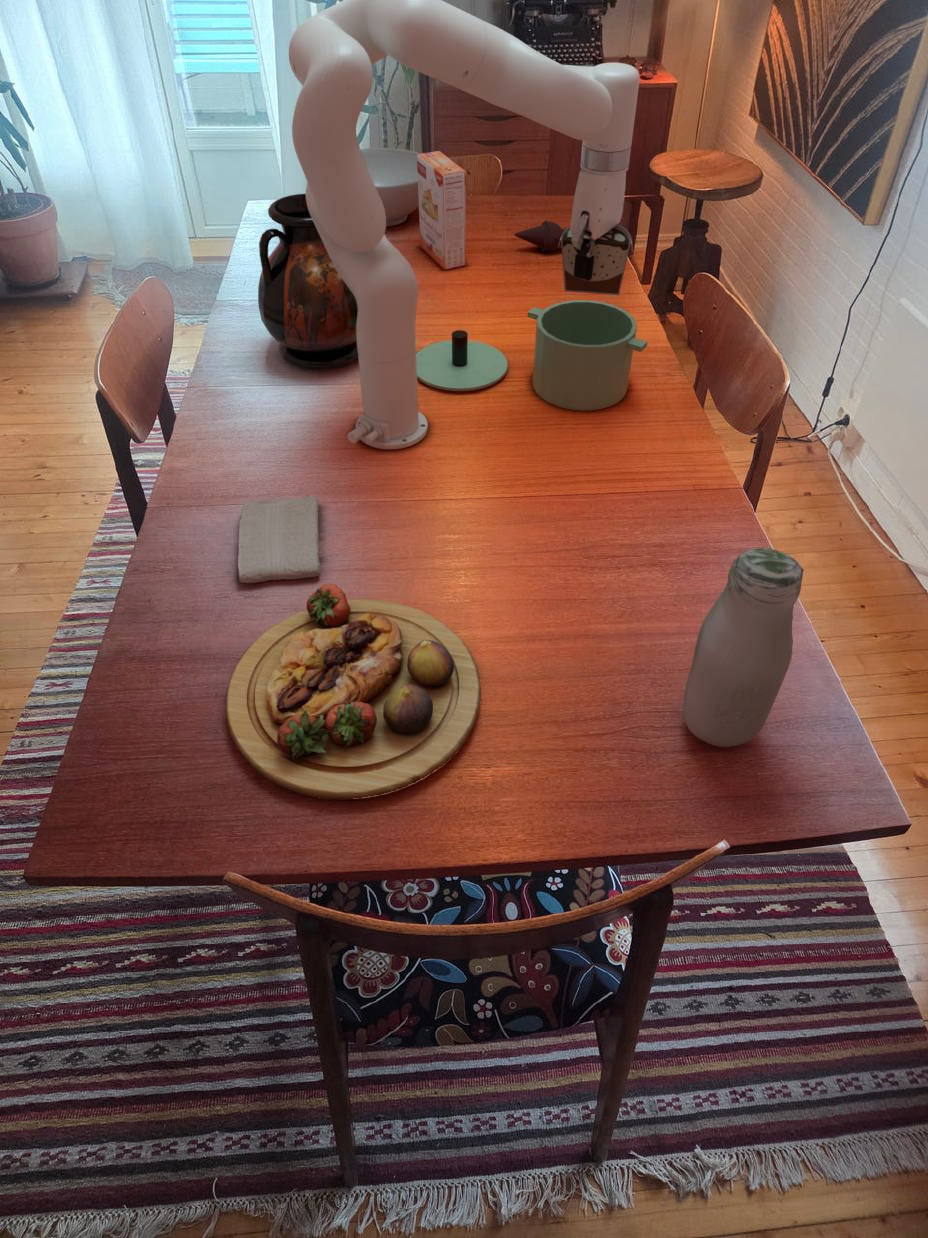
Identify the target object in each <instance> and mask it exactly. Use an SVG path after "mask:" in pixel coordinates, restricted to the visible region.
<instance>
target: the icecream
mask: <svg viewBox="0 0 928 1238" xmlns="http://www.w3.org/2000/svg"><path fill="white" fill-rule="evenodd" d="M570 226H571V225H569V226H568V227H570ZM568 227H565V228H562V227H561V226H560V224H558V223H556V222H553V221H548V220H544V221H543V222H542V223H541V224H540V225H537V226H534V227H531V228H528V229H524V230H521V231H518V232H515V233H514V237H516V238H519V239H520V240H523V241H525V242H527V243H530V244H532V245H535V246H536V247H539V248H540V250H541V251H542V253H545V252H553V251H556V250H558V249H559V248H560V247H561V248H562V243H561V244H560V246H559V248H558V245H559V241H560V238H561V236H562V234H563V232H564V231H565V230H566V229H567V228H568Z"/></svg>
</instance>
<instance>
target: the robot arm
mask: <svg viewBox="0 0 928 1238" xmlns="http://www.w3.org/2000/svg"><path fill="white" fill-rule="evenodd" d="M387 56H389V57H390V58H391V59H393V60H394V61H396V62H397V63H399V64H401V65H402V66H405V67H407V68H409V69H411V70H413V71H416V72H418V73H420V74H423V75H426V76H428V77H430V78H432V79H436V80H437V81H440V82H443V83H445V84H447V85H450V86H452V87H454V88H457V89H458V90H461V91H463V92H465V93H468V94H469V95H472V96H474V97H477V98H478V99H481V100H483V101H485V102H487V103H489V104H492V105H493V106H496V107H499V108H501V109H503V110H507V111H510V112H513V113H515V114H518V115H519V116H522V117H525V118H527V119H529V120H531V121H533V122H535V123H538V124H540V125H542V126H544V127H547V128H549V129H551V130H553V131H556V132H558V133H561V134H563V135H565V136H567V137H570V138H572V139H575V140H577V141H582V143H581V146H582V147H581V155H580V171H579V173H578V177H577V182H576V186H575V192H574V197H573V205H572V211H571V218H570V226H571V227H570V231H571V234H573V236H572V239H571V241H572V243H573V245H574V249H575V254H576V256H575V266H574V276H575V277H578V278H581V279H585V280H588V281H589V280H591V279H592V273H593V264H594V256H592V254H593V250H594V246H595V243H596V239H597V238H599V237H601V236H602V235H604V234H605V233H607V232H608V231H609V230H611V229H612V228H614V227H615V226H616V224H618V225H620V222H621V220H622V216H623V213H624V204H625V197H626V195H625V194H626V183H627V182H626V181H627V171H629V168H630V161H631V160H630V159H631V152H632V145H633V144H632V142H633V134H634V127H635V120H636V112H637V103H638V95H639V89H640V88H639V87H640V80H641V79H640V73H639V70H638V69H637V68H636V67H634V66H633V65H631V64H628V63H623V62H603V63H600V64H596V65H593V66H592V65H591V66H589V65H588V66H587V65H571V64H561V63H559V62H557V61H555V60H554V59H551V57H548V56H546V55H544V54H543V53H541V52H539V51H537V50H536V49H534V48H532V47H531V46H529V45H528V44H526V43H525V42H524V41H522V40H520V39H519V38H517V37H516V36H514V35H513V34H511V33H509V32H507V31H505V30H503V29H502V28H500V27H498V26H496V25H494V24H491V23H489V22H487V21H486V20H483V19H481V18H479V17H477V16H475V15H473V14H471V13H468V12H467V11H465V10H463V9H460V8H458V7H456V6H454V5H453V4H450V3H448V2H446V1H444V0H342V1H339V2H338V3H335V4H333V5H331V6H329V7H328V8H325V9H323V10H321V11H319V12H317V13H315V14H314V15H312V16H310V17H309V18H307V19H305V20H304V21H303V22H302V23H301V24H300V25H298V27H297V28H296V29H295V31H294V32H293V33H292V36H291V38H290V41H289V46H288V61H289V65H290V68H291V69H290V70H291V71H292V73H293V75H294V78H296V79H297V81H298V82H299V83H300V84H301V86H302V87H301V89H300V91H299V94H298V96H297V98H296V103H295V106H294V112H293V116H292V121H291V122H292V123H291V137H292V143H293V148H294V151H295V155H296V158H297V160H298V162H299V165H300V167H301V170H302V172H303V174H304V177H305V179H306V182H307V183H306V187H305V194H306V203H307V207H308V210H309V213H310V216H311V218H312V220H313V222H314V224H315V227H316V229H317V231H318V233H319V235H320V237H321V239H322V241H323V244H324V246H325V248H326V250H327V252H328V254H329V256H330V258H331V260H332V262H333V264H334V266H335V268H336V270H337V272H338V274H339V275H340V277H341V278H342V280H343V281H344V282H345V284H346V285H347V286H348V288H349V289H350V291H351V292H352V293H353V295H354V296H355V298H356V301H357V307H358V314H357V323H356V339H357V350H358V357H357V358H358V359H357V360H358V368H359V381H360V391H361V392H360V393H361V404H362V413H361V414H360V415H359V417H358V418H357V420H356V422H355V428H354V429H353V430H351V431H350V432H348V433H347V436H346V438H347V440H348V441H349V442H350V443H351V444H356V443H357V442H359V441H361V442H362V443H364V444H365V445H367V446H369V447H372V448H375V449H378V450H379V449H380V450H400V449H401V450H402V449H405V448H408V447H411V446H415V445H416V444H417V443H419V442H421V441H422V440H423V439H424V438H425V437H426V436H427V433H428V429H429V428H428V427H429V425H428V419H427V418H426V416H425V415H424V414H423V413H422V412H421V411H419V391H418V378H417V362H416V354H417V345H416V344H417V343H416V316H417V307H418V301H419V284H418V283H419V282H418V279H417V276H416V273H415V271H414V269H413V267H412V266H411V264H410V262H409V261H408V260H407V258H406V257H405V256H404V255H403V254H402V253H401V252H400V251H399V250H398V249H397V247H396V246H394V245H393V244H392V242H390V240H389V239H388V238H387V236H386V234H385V232H386V228H387V226H386V214H385V209H384V206H383V203H382V200H381V198H380V196H379V194H378V192H377V190H376V187H375V185H374V183H373V180H372V178H371V175H370V173H369V170H368V168H367V166H366V163H365V161H364V158H363V155H362V152H361V146H360V144H359V139H358V136H357V124H358V121H359V118H360V115H361V112H362V111H363V108H364V106H365V104H366V102H367V100H368V98H369V96H370V93H371V90H372V86H373V79H374V73H373V64H376V63H377V62H379V61H381V60H382V59H384V58H386V57H387ZM586 231H589V232H592V235H591V236H589V235H585V232H586ZM584 239H588V240H590V243H589V246H588V247H587V245H586V243H584V242H583V240H584Z"/></svg>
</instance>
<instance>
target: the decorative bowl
mask: <svg viewBox="0 0 928 1238" xmlns="http://www.w3.org/2000/svg"><path fill="white" fill-rule="evenodd" d="M360 149H361V148H360ZM361 152H362V155H363V158H364V161H365V163H366V166H367V168H368V170H369V173H370V175H371V178H372V180H373V183H374V185H375V187H376V190H377V192H378V194H379V196H380V198H381V200H382V203H383V206H384V209H385V214H386V227H393V226H397V225H400V224H402V223H403V222H406V220H407V219H408V215H410V214H412V213H413V212H414V211H415V210H417V209H418V208H419V194H418V169H417V155H418V154H421V153H420V152H417V151H413V150H409V149H404V148H395V147H371V148H369V147H368V148H362V149H361Z"/></svg>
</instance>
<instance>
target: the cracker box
mask: <svg viewBox="0 0 928 1238" xmlns="http://www.w3.org/2000/svg"><path fill="white" fill-rule="evenodd" d="M417 169H418V194H419V206H418V215H419V216H418V217H419V219H418V220H419V241H420V242H419V243H420V244H419V245H420V248H421V249H422V250H423V251H424V252H425V253H427V255H428V256H430V258H431V259H432V260H433V261H434V262H435V263H437V264H438V266H440V268H441V269H442V270H443V271H447V270H450V269H451V270H452V269H455V268H461V267H465V266H467V259H466V258H467V253H466V252H467V249H466V248H467V245H466V244H467V243H466V242H467V241H466V240H467V239H466V238H467V234H466V233H467V232H466V231H467V230H466V229H467V227H466V226H467V220H466V219H467V215H466V214H467V213H466V212H467V210H466V208H467V205H466V203H467V201H466V200H467V199H466V198H467V197H466V196H467V195H466V194H467V191H466V188H467V187H466V186H467V185H466V184H467V183H466V182H467V180H466V179H467V175H466V173H467V172H466V170H465V169H463V168H462V167H461V166H460V165H459V164H457V163H456V162H454V161H453V160H452V159H450V158H449V157H448V156H447V155H445V154H444V153H443V152H442V151H441V150H436V151H429V152H422V153H420V154H418V155H417Z"/></svg>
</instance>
